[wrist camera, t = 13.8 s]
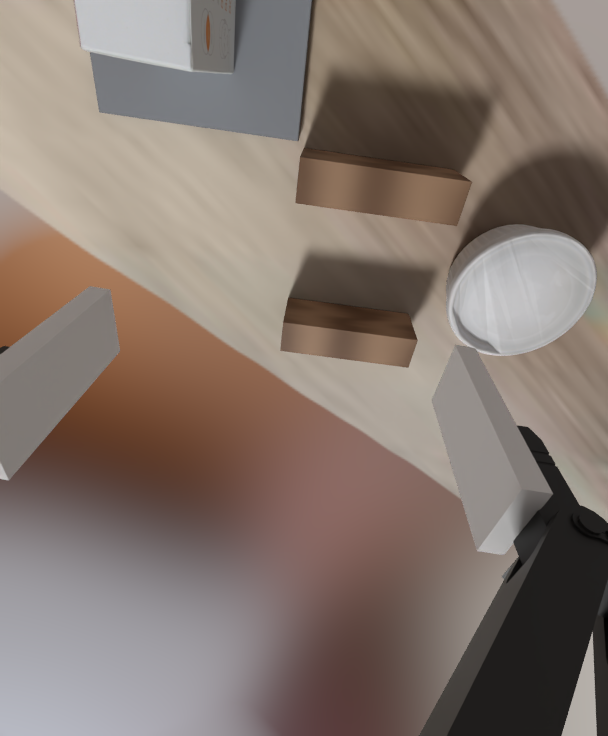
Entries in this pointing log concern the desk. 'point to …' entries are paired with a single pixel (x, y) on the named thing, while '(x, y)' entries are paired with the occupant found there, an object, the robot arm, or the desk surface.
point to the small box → (161, 32)
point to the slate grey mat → (223, 78)
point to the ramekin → (518, 289)
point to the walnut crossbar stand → (374, 196)
